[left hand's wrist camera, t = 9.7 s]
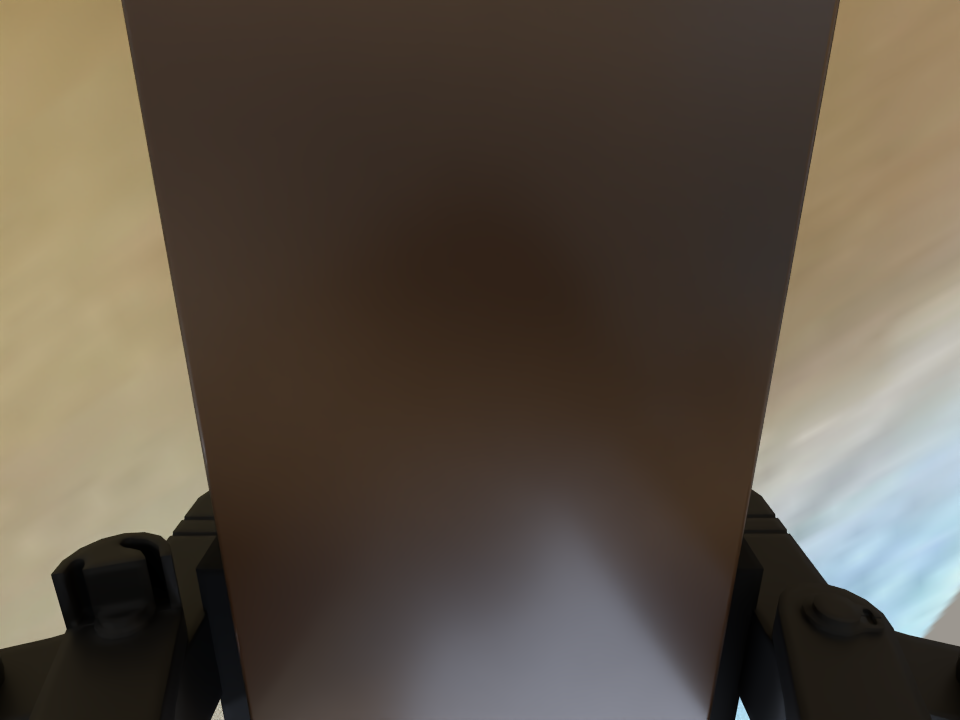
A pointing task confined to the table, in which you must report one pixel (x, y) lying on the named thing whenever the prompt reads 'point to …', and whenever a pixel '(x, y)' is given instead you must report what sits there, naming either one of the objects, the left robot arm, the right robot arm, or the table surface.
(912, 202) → the table surface
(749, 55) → the bar
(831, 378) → the table surface
